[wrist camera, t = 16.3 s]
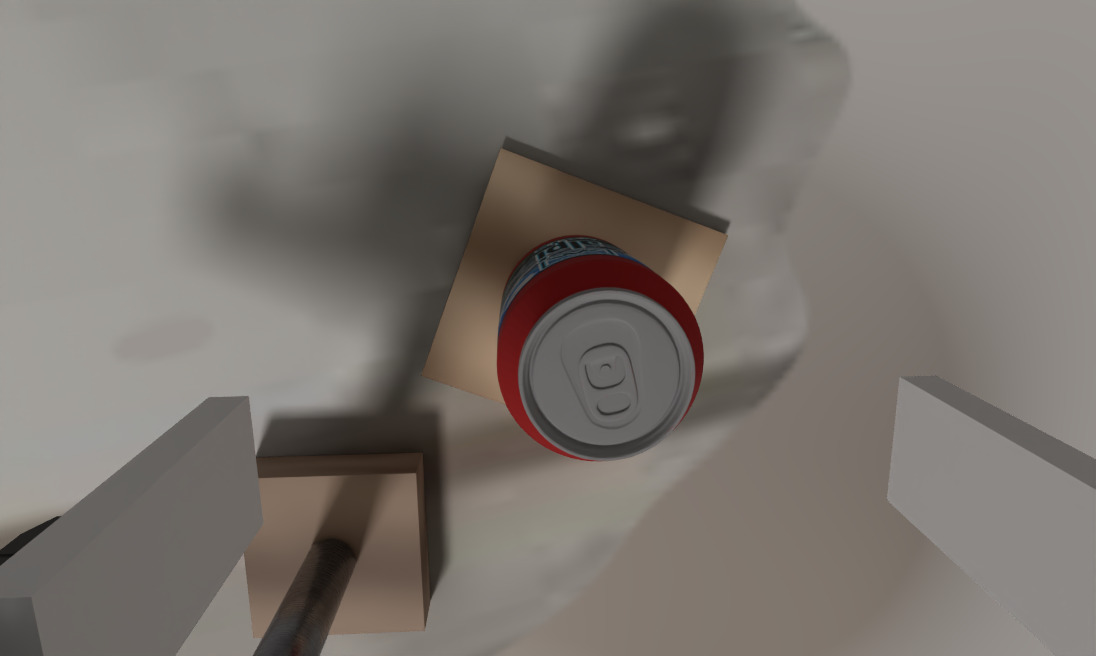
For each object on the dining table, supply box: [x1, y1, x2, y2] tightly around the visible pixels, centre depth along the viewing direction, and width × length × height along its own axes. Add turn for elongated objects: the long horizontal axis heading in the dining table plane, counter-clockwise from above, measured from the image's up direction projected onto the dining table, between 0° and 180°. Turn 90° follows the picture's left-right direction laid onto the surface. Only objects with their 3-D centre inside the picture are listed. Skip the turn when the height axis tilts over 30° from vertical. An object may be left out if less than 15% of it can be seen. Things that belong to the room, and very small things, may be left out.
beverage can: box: [497, 235, 704, 461], centre depth 27 cm, size 7×7×12 cm
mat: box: [421, 148, 728, 404], centre depth 34 cm, size 11×11×1 cm
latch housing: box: [244, 452, 430, 638], centre depth 35 cm, size 8×8×2 cm
